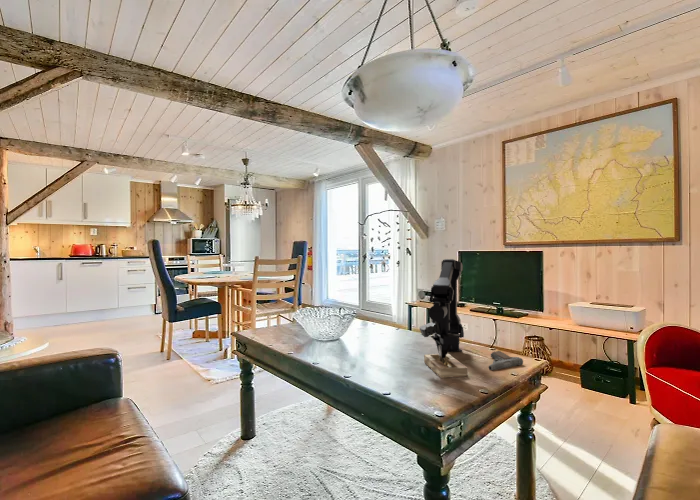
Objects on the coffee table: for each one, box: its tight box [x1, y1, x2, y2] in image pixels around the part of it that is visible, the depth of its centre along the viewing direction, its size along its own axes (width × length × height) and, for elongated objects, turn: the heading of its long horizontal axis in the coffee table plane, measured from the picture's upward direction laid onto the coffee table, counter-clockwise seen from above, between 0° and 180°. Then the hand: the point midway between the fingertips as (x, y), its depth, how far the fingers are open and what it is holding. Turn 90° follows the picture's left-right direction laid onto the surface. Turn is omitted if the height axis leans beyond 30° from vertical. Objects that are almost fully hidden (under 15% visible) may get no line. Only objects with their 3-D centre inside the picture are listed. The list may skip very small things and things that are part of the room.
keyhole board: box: [423, 352, 469, 379], centre depth 136 cm, size 17×10×3 cm, turn 8°
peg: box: [438, 345, 448, 366], centre depth 138 cm, size 4×4×8 cm
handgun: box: [488, 350, 524, 371], centre depth 142 cm, size 3×16×12 cm
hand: (442, 356), depth 138 cm, fingers closed on peg, 2 cm apart
